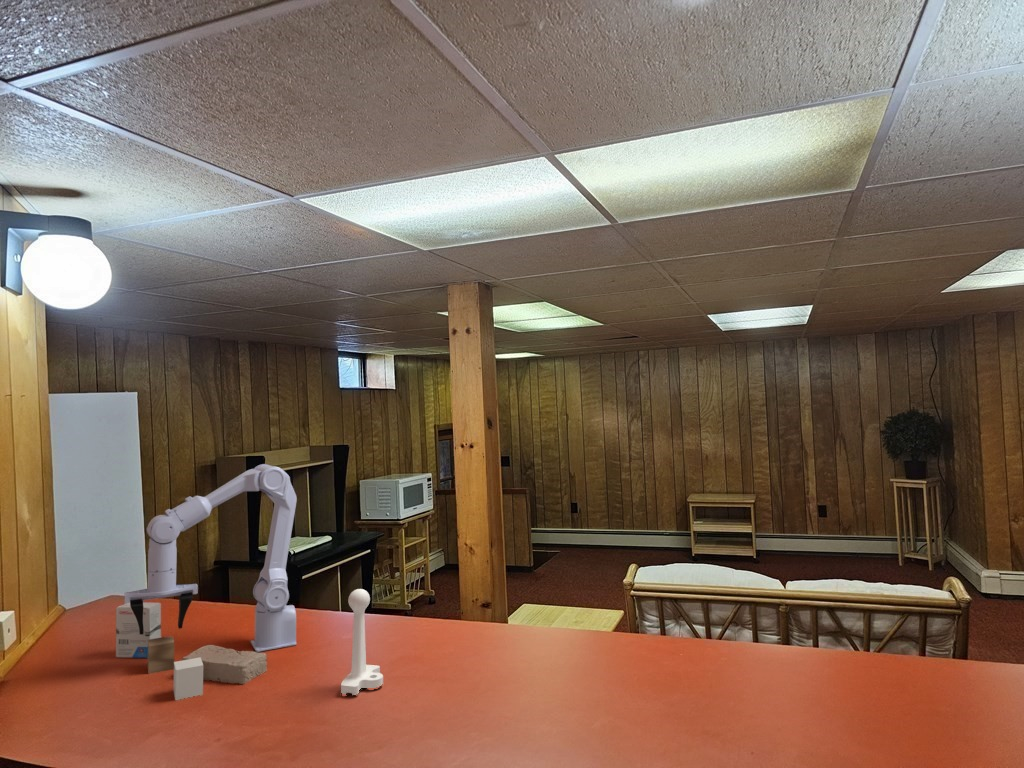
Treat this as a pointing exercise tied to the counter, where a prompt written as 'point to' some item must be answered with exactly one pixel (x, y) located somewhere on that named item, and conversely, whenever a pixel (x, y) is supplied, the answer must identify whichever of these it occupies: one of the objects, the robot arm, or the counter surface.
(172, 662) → the walnut block
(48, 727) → the counter surface
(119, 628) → the ink box
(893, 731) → the counter surface
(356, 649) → the joystick
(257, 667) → the brick
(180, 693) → the grey block
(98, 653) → the counter surface
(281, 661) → the counter surface
